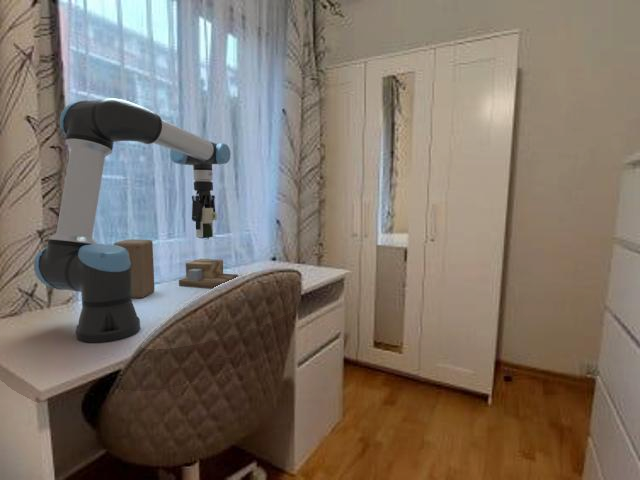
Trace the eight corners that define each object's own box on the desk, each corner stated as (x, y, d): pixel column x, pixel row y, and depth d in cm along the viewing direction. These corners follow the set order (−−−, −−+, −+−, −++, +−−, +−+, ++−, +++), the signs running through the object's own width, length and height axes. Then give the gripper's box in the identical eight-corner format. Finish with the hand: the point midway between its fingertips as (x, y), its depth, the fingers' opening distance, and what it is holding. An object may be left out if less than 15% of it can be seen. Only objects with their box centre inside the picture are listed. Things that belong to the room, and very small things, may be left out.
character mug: (220, 238, 164) (220, 207, 162) (213, 240, 157) (212, 208, 155) (197, 237, 165) (196, 207, 164) (188, 239, 158) (187, 207, 157)
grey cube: (197, 280, 153) (197, 271, 152) (188, 280, 154) (188, 270, 153) (202, 278, 157) (202, 269, 156) (194, 278, 158) (193, 268, 157)
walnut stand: (219, 289, 150) (218, 267, 149) (179, 285, 155) (178, 265, 154) (238, 280, 166) (237, 260, 165) (200, 277, 170) (200, 258, 169)
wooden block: (143, 298, 136) (140, 242, 134) (115, 298, 136) (112, 242, 134) (155, 291, 146) (153, 239, 144) (129, 291, 146) (127, 239, 144)
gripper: (197, 180, 147) (199, 239, 150) (223, 181, 167) (224, 234, 170) (180, 180, 149) (182, 238, 152) (208, 181, 169) (209, 233, 171)
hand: (204, 236), depth 161 cm, fingers closed on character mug, 7 cm apart
